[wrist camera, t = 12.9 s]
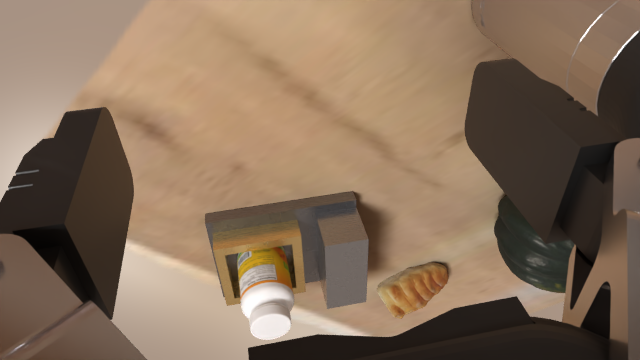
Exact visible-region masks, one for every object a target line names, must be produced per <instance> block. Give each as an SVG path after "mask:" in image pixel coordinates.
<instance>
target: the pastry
mask: <svg viewBox="0 0 640 360" xmlns="http://www.w3.org/2000/svg"><path fill="white" fill-rule="evenodd" d="M447 281H448V272H447V269H446V267H445V266H444V265H441V264H439V263H435V262H432V263H427V264H424V265H421V266H416V267H410V268H407V269H406V270H404V271H402V272H400V273H398V274H396V275H393V276H391V277H389V278H388V279H386V280H384V281H383V282H381V283H380V284H379V285H378V288H377V292H378V294H379V296H380V298H381V299H382V301H383V302H384V303H385V305H386V306H387V308H388V310H389V311H390V312H391V314H392V315H393V316H394V317H396V318H400V319H401V318H403V316H404V315H405V314H409V313H411V312H413V311H416V310H418V309H420V308H423V307H424V306H426V304H427V302H428V301H429V300H430V299H431V298H432V297H433V296H434V295H436V294H438V293H439V291H440V290H441V289H442V288H443V287H444V286H445V284H446V283H447Z"/></svg>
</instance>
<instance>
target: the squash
mask: <svg viewBox="0 0 640 360" xmlns="http://www.w3.org/2000/svg"><path fill="white" fill-rule="evenodd" d="M498 210H499V217H498V219H497V220H496V223H495V226H494V232H495V236H496V238H497V243H498V247H499V251H500V253H501V255H502V258H503V259H504V261H505V263H506V265H507V266H508V267H509V269H510V270H511V271H512V273H514V274H515V275H516V276H517V277H518V278H520V279H521V280H523V281H525V282H527V283H529V284H531V285H533V286H535V287H536V288H539V289H542V290H546V291H551V292H556V293H565V292H566V283H567V275H568V266H569V258H570V254H571V252H572V249H573V247H574V243H573V242H572V240H566V241H560V242H554V243H549V244H545V243H544V242H543V240H542V239H541V238H540V236H539V235H538V234H537V233H536V231H535V230H534V229H533V228H532V226H531V225H530V224H529V223H528V221H527V220H526V219H525V217H524V216H523V215H522V214H521V212H520V211H519V210H518V209H517V207H516V206H515V205H514V204H513V202H512V201H511V200H510V199H509V197H508V196H505V197H504V198H503V199H502V200H501V201H500V202H499V205H498Z"/></svg>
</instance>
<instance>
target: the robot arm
mask: <svg viewBox="0 0 640 360" xmlns="http://www.w3.org/2000/svg"><path fill="white" fill-rule="evenodd" d="M472 13H473V18H474V21H475V23H476V25H477V27H478V28H479V30H480V31H481V32H482V33H483V34H484V35H485V36H486V37H488V38H489V39H490V40H491V41H493V42H494V43H495V44H496V45H498V46H499V47H500V48H501V49H502V50H504V51H505V52H506V53H507V54H508V55H510V56H511V57H512V59H503V60H495V61H487V62H481V63H479V64H478V65H477V67H476V69H475V71H474V75H473V81H472V86H471V92H470V97H469V103H468V109H467V114H466V120H465V136H466V140H467V143H468V146H469V148H470V149H471V150H472V152H473V153H474V154H475V156H476V157H477V158H478V159H479V161H480V162H481V163H482V164H483V166H484V167H485V168H486V169H487V171H488V172H489V173H490V174H491V176H492V177H493V178H494V180H495V181H496V182H497V183H498V185H499V186H500V187H501V188H502V190H503V191H504V192H505V193H506V195H507V196H508V197H509V199H510V200H511V201H512V202H513V204H514V205H515V206H516V207H517V209H518V210H519V211H520V212H521V214H522V215H523V216H524V217H525V219H526V220H527V221H528V223H529V224H530V225H531V226H532V228H533V229H534V230H535V231H536V233H537V234H538V235H539V236H540V238H541V239H542V240H543V242H544V243H545V244H549V243H554V242H560V241H566V240H572V242H573V243H574V247H573V249H572V252H571V254H570V258H569V266H568V275H567V283H566V292H565V301H564V310H563V319H562V322H559V321H555V320H551V319H545V318H538V317H530V316H529V315H528V313H527V312H526V310H525V308H524V307H523V305H522V304H521V302H520V301H519V299H518V298H517V296H516V297H511V298H506V299H500V300H495V301H490V302H485V303H479V304H474V305H469V306H464V307H459V308H454V309H452V310H450V311H448V312H446V313H444V314H441V315H439V316H437V317H435V318H433V319H431V320H429V321H427V322H425V323H423V324H420V325H418V326H416V327H414V328H412V329H410V330H408V331H406V332H404V333H402V334H399V335H397V336H393V337H370V336H344V335H313V336H307V337H303V338H297V339H292V340H287V341H281V342H276V343H271V344H266V345H261V346H256V347H250V348H248V353H249V360H640V0H472ZM15 173H16V176H13V178H12V180H11V182H10V184H9V186H8V188H9V190H7V191H6V192H5V194H4V196H3V198H2V200H1V202H0V360H147V359H146V358H145V357H144V356H143V355H142V354H141V353H140V351H139V350H138V349H137V348H136V347H135V346H134V345H133V344H132V343H131V342H130V341H129V340H128V339H127V338H126V336H125V335H124V334H123V333H122V332H121V331H120V330H119V329H118V328H117V327H116V326H115V325H114V324H113V323H112V321H111V319H112V317H113V312H114V306H115V300H116V295H117V289H118V283H119V277H120V271H121V266H122V260H123V255H124V249H125V243H126V237H127V232H128V226H129V220H130V214H131V209H132V203H133V196H134V187H133V179H132V174H131V170H130V167H129V164H128V161H127V158H126V155H125V153H124V150H123V147H122V144H121V141H120V138H119V135H118V133H117V130H116V127H115V124H114V121H113V118H112V116H111V114H110V112H109V110H108V109H107V108H106V107H102V108H93V109H85V110H77V111H69V112H66V113H65V114H64V116H63V118H62V120H61V123H60V125H59V127H58V129H57V131H56V134H55V136H54V138H48V139H42V140H41V141H40V142H39V143H38V144H37V145H36V146H34V147H33V148H32V149H31V150H30V151H29V152H28V153H26V154H25V155H24V157H23V159H22V161H21V163H20V165H19V167H18V169H17V170H16V172H15Z"/></svg>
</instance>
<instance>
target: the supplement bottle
mask: <svg viewBox="0 0 640 360" xmlns="http://www.w3.org/2000/svg"><path fill="white" fill-rule="evenodd" d="M237 265H238V276H239V287H240V300H241V307H242V311H243V313H244V315H245V316H246V317H247V318H248V319H249V323H250V330H251V333H252V334H253V335H254V336H255V337H256V338H259V339H264V340H271V339H276V338H279V337H281V336H283V335H284V334H286V333H287V332H288V331H289V329H290V327H291V317H290V311H291V309H292V307H293V305H294V294H293V289H292V284H291V278H290V273H289V268H288V263H287V258H286V254H285V250H284V248H283V247H282V246H278V247H272V248H266V249H260V250H254V251H248V252H242V253H238V256H237Z"/></svg>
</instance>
